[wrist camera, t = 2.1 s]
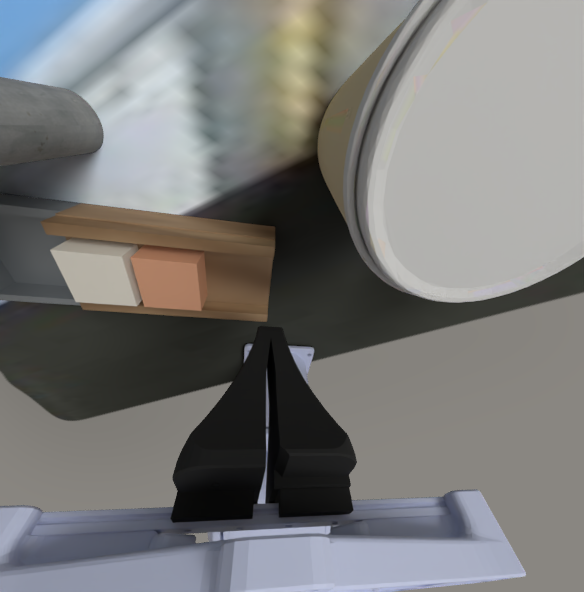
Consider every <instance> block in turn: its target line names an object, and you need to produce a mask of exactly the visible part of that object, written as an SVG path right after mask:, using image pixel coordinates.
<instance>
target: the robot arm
mask: <svg viewBox="0 0 584 592" xmlns="http://www.w3.org/2000/svg"><path fill="white" fill-rule="evenodd" d="M313 354H314V348H312V347H303V346H288V344H287V341H286V338H285V335H284V331H283V329H282V328H280V327H265V326H260V327H258V330H257V334H256V338H255V340H254V343H253V344H246V345H245V348H244V364H243V366H242V368H241V369H240V371H239V373H238V374H237V376H236V378H235V379H234V381H233V382H232V384H231V385H230V387H229V388H228V390H227V391H226V392H225V394H224V395H223V396H222V398H221V399H220V400H219V402H218V403H217V404H216V405H215V407H214V408H213V409H212V410H211V412H210V413H209V414H208V415H207V416H206V417H205V419H204V420H203V421H202V422H201V423H200V424H199V425H198V426H197V427H196V428H195V430H194V431H193V432H192V433H191V434H190V436H189V438H188V440H187V441H186V443H185V445H184V447H183V449H182V451H181V453H180V456H179V458H178V461H177V463H176V467H175V470H174V474H173V481H174V484H175V486H176V488H177V490H178V492H177V496H176V500H175V503H174V507H166V508H165V507H164V508H138V509H112V510H87V511H63V512H62V511H60V512H42V510H41V509H40V508H38V507H35V506H28V505H17V506H0V592H393V591H403V590H412V589H422V588H431V587H440V586H449V585H461V584H471V583H481V582H488V581H496V580H503V579H509V578H516V577H523V576H526V572H525V571H524V569H523V567H522V565H521V564H520V562H519V560H518V558H517V556H516V554H515V553H514V551H513V549H512V547H511V546H510V544H509V542H508V540H507V538H506V537H505V536H504V533H503V531H502V530H501V528H500V526H499V524H498V522H497V521H496V519H495V517H494V515H493V514H492V512H491V510H490V508H489V506H488V505H487V503H486V501H485V499H484V498H483V496H482V494H481V492H480V491H479V490H456V491H451V492H448V493H447V494H445V495H444V497H422V498H398V499H374V500H373V499H372V500H351V495H350V490H349V487H350V479H349V474H350V472H351V471H352V470H353V469H354V467H355V465H356V463H357V461H356V457H355V453H354V450H353V447H352V444H351V442H350V439H349V437H348V435H347V433H345V431H344V430H343V429H342V428H341V427H340V426H339V425H338V424H337V423H336V421H335V420H334V419H333V418H332V417H331V416H330V415H329V413H328V412H327V411H326V410H325V408H324V407H323V406H322V404H321V403H320V402H319V400H318V399H317V398H316V396H315V395H314V393H313V392H312V390H311V389H310V387H309V386H308V379H307V374H308V371H309V367H310V364H311V361H312V358H313ZM206 532H208V540H209V542H204V543H195V541H196V537H195V535H186V534H188V533H206Z"/></svg>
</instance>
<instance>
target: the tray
mask: <svg viewBox="0 0 584 592" xmlns="http://www.w3.org/2000/svg"><path fill="white" fill-rule="evenodd" d="M78 204H81V203H75V202H67V201H59V200H51V199H42V198H34V197H26V196H18V195H9V194H1V193H0V300H7V301H22V302H37V303H51V304H66V305H80V302H76V301H75V299H74V297H73V295H72V293H71V291H70V289H69V287H68V285H67V283H66V281H65V279H64V277H63V275H62V273H61V271H60V269H59V267H58V265H57V263H56V261H55V259H54V257H53V255H52V253H51V251H50V250H51V249H52V248H54V247H56V246H58V245H60V244H62V243H63V242H65V241H67V240H66V238H65V236H57V235H47V234H46V233H45V230H44V228H43V226H42V224H41V222H40V221H43V220H45V219H48V218H50V217H53V216H55V213H58V212H61V211H63V210H66V209H68V208H71V207H73V206H76V205H78ZM80 306H81V305H80Z"/></svg>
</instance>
